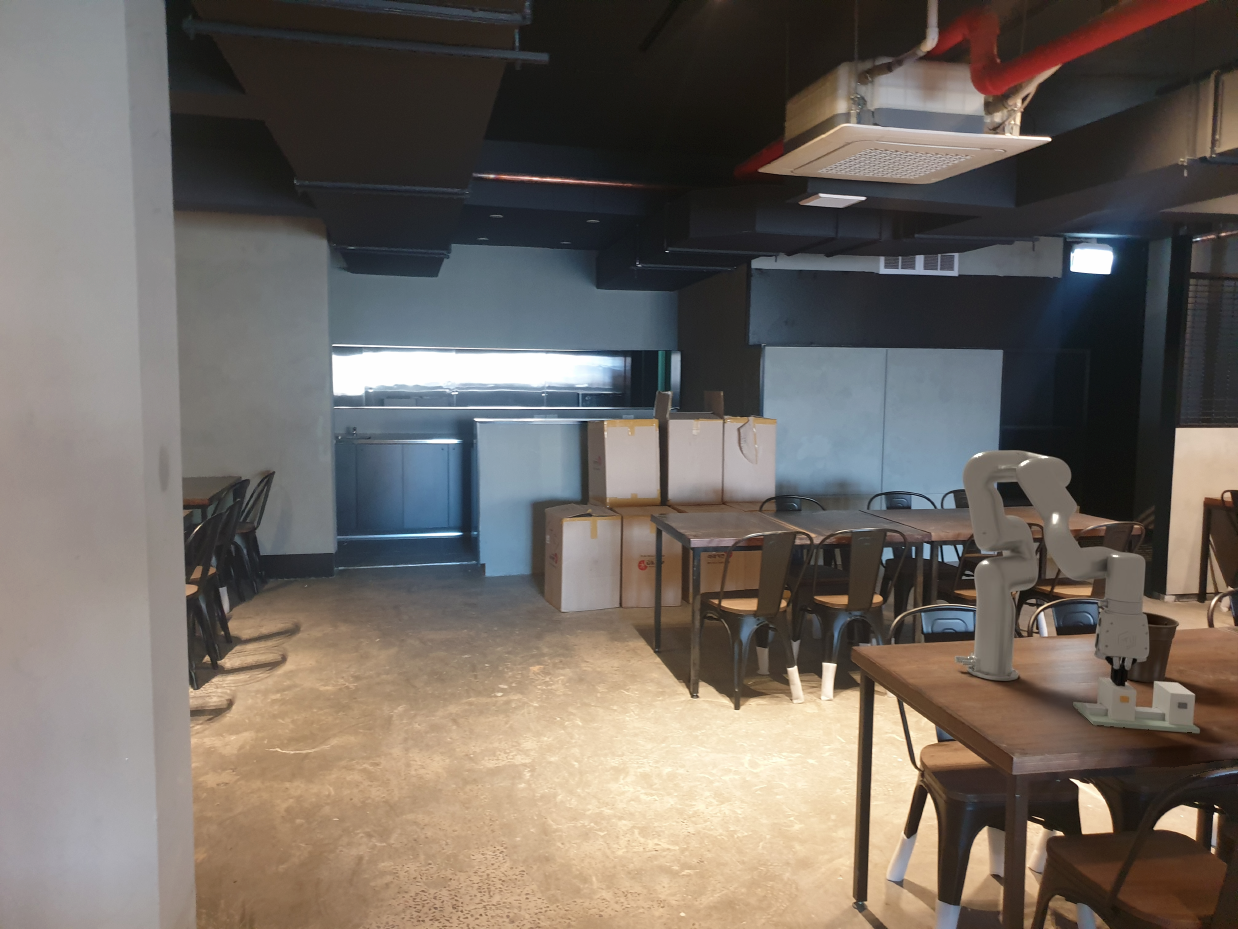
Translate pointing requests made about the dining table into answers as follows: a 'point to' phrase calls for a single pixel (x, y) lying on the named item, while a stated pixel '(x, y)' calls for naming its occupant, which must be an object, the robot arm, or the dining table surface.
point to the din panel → (1136, 722)
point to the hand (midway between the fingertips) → (1118, 684)
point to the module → (1117, 699)
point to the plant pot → (1155, 650)
